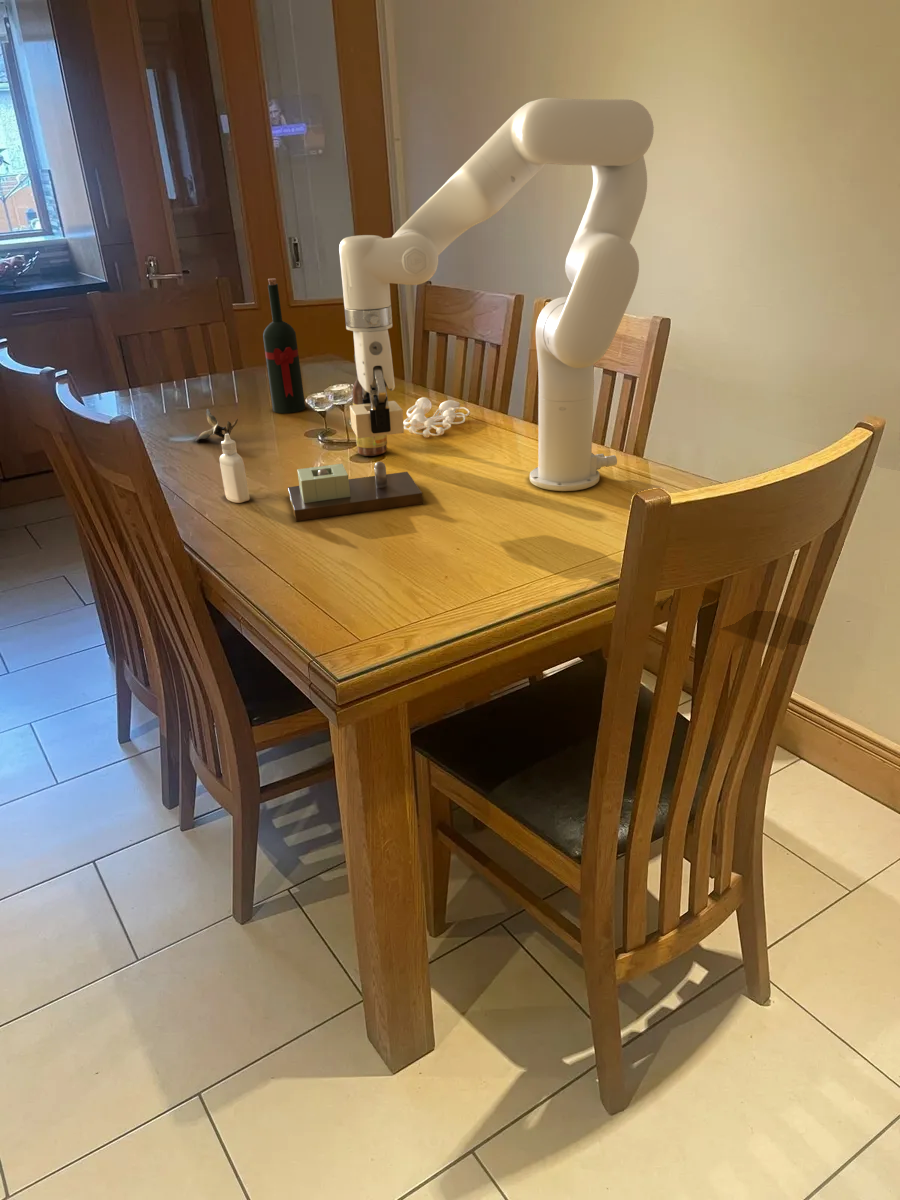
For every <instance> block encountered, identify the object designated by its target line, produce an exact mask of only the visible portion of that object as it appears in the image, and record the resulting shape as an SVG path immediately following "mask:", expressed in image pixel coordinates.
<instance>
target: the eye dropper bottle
mask: <svg viewBox="0 0 900 1200" xmlns="http://www.w3.org/2000/svg"><path fill="white" fill-rule="evenodd" d="M224 434H225V438H224V439H223V440H222V441H221V442H220V445H221V450H222V454H220V456H219V459H218V460H219V461H218V462H219V468H220V472H221V478H222V485H223V490H224V496H225V498H226V499H227V500H228V501H229V502H230V503H231V502H232V503H235V504H240V503H245V502H248V501H250V492H249V491H250V490H249V486H248V485H249V484H248V480H247V474H246V468H245V463H244V459H243V457H242V456H241V455H240V454H239V453H238V450H237V443H236V440H235V439H232V438H231V436H230V435H229V434H226V433H224Z"/></svg>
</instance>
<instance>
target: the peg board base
mask: <svg viewBox="0 0 900 1200" xmlns="http://www.w3.org/2000/svg"><path fill="white" fill-rule="evenodd" d="M373 468H374V469H373V471H374V475H371V476H364V477H356V478H348V479H349V488H350V497H346V498H339V499H331V500H323V501H316V502H309V503H304V501H303V498H302V495H301V492H300V487H299V485H294V486H288V487H287V492H288V498H289V501H290V505H291V509H292V512H293V516H294V519H295V522H302V521H309V520H317V519H322V518H331V517H339V516H344V515H350V514H351V515H353V514H357V513H359V514H360V513H366V512H374V511H379V510H380V511H382V510H388V509H394V508H396V509H397V508H402V507H409V506H417V505H423V504H424V499H423V492H422V491H421V489H420V487H419V486H418V484H417V483H416V482H415V481H414V479H413V477H412V476H411V475H410V473H409V472H408V471H402V472H395V473H387V467H386V463H385V462H383V461H377V462H376V463H375V464H374V466H373ZM322 475H329V472H328V471H327V470H326V469H320V470H319V471H318V473H317V476H322Z"/></svg>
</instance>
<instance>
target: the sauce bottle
mask: <svg viewBox="0 0 900 1200" xmlns="http://www.w3.org/2000/svg"><path fill="white" fill-rule="evenodd" d="M353 359H354V363H355V364H356V360H355V353H354V355H353ZM355 369H356V368H355ZM355 375H356V379H355V382H354V383H353V385H352V389H351V390H352V391H351V393H352V394H351V395H352V405H359V404H363V402H362V399H366V398H363V395H362V386H361V384H360V383H359V381H358V376H357V369H356V373H355ZM355 443H356V447H357V453H358V454H359V455H361V456H364V457H374V456H375V457H376V456H380V455H382V454H385V453H387V448H388V447H387V446H388V435H382V436H374V437H365V438H357V436H356V435H355Z"/></svg>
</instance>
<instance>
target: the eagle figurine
mask: <svg viewBox="0 0 900 1200" xmlns="http://www.w3.org/2000/svg"><path fill="white" fill-rule="evenodd" d="M205 410H206V411H205V416H206V421H207V423H208V424H209V426H211V428H209V429H208V430H205V431H202V432H201V433H200V434H199V435H198V437H197V438H196V439H195V440H194V441H195V442H197V441H199V440H202V439H203V440H205V439H209V438H210V437H211V436H214V435H215V436H218V437H219V438H221V439H225V434H229V436H230V435H231V434H232V433H231V432H232V430H233V429H234V427H235V426H236V425H237V423H238V421H239V419H238V418H236V419H235V420H234V422H233V423H232V422H230V421H229V420H227V423H226V426H223V427H222V426H220V425H219V422H218V420H217V418H216V417H215V415H213V414H212V413H211V410H210V408H207V409H205ZM223 431H224V433H223Z"/></svg>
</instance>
